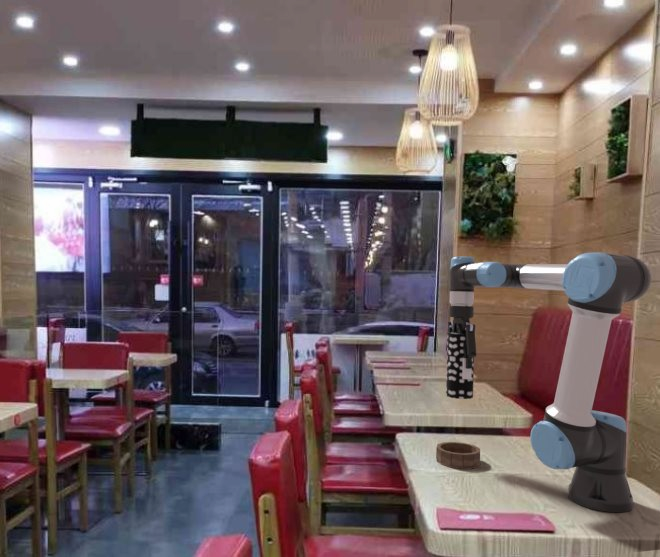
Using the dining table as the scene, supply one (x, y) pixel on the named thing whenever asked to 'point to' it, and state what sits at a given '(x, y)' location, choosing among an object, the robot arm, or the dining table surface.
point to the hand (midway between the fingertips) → (459, 376)
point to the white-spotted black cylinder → (457, 369)
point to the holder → (458, 455)
